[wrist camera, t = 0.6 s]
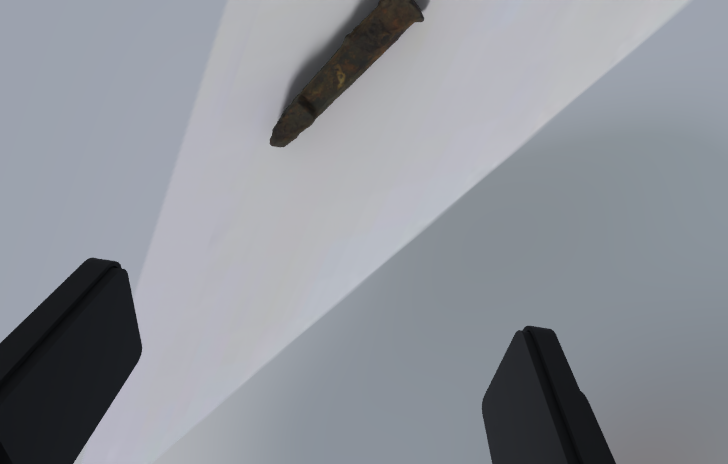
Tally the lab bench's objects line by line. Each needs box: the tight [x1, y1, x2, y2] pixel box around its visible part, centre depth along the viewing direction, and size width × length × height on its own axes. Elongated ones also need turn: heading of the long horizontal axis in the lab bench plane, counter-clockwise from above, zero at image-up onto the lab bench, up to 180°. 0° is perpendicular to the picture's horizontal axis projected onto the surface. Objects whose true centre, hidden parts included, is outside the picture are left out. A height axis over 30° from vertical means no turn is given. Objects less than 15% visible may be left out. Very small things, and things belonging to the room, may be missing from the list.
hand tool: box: [270, 0, 424, 147], centre depth 39 cm, size 19×4×5 cm, turn 132°
